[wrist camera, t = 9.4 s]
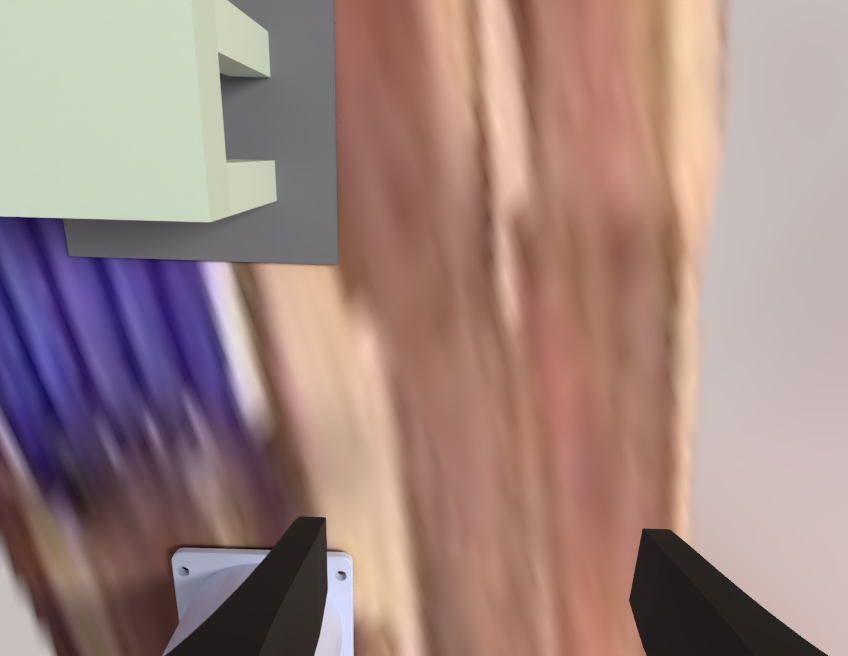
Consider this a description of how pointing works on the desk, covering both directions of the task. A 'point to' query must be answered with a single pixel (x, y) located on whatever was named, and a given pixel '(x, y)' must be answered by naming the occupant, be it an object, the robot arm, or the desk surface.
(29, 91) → the slotted sage cube
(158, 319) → the desk surface
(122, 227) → the felt pad
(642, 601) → the robot arm
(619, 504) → the desk surface
